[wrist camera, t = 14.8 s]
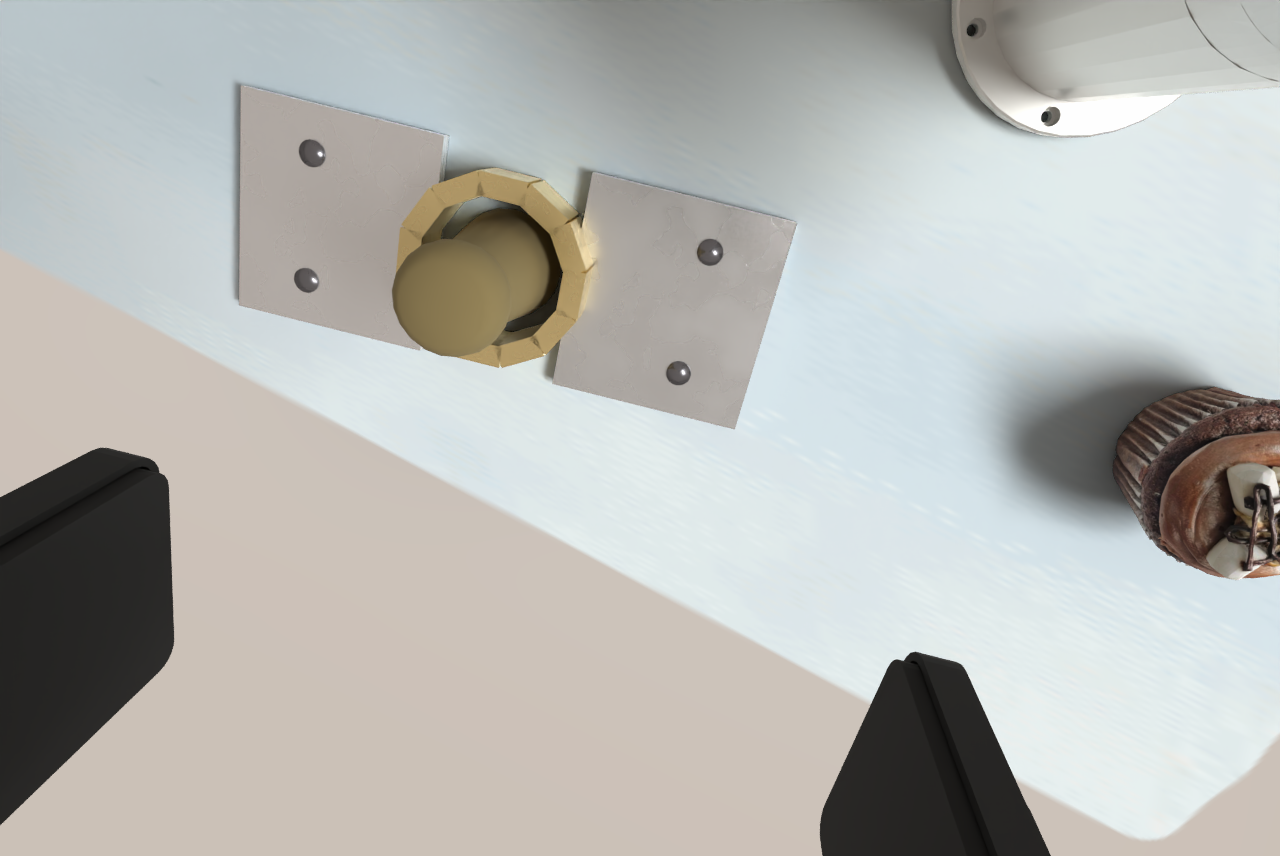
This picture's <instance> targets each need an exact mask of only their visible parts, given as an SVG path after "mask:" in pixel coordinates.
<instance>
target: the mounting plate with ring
mask: <svg viewBox="0 0 1280 856" xmlns="http://www.w3.org/2000/svg"><path fill="white" fill-rule="evenodd" d="M448 142H449V136H448V135H444V134H440V133H436V132H432V131H428V130H424V129H420V128H416V127H412V126H408V125H404V124H400V123H396V122H392V121H388V120H384V119H380V118H376V117H372V116H368V115H364V114H360V113H356V112H351V111H347V110H343V109H339V108H335V107H331V106H327V105H323V104H319V103H315V102H311V101H307V100H303V99H299V98H295V97H291V96H287V95H283V94H279V93H275V92H271V91H267V90H263V89H259V88H255V87H251V86H241V121H240V256H239V305H240V306H244V307H248V308H252V309H256V310H260V311H264V312H268V313H272V314H276V315H280V316H284V317H288V318H292V319H296V320H300V321H304V322H308V323H312V324H316V325H320V326H324V327H328V328H332V329H336V330H340V331H344V332H348V333H352V334H356V335H360V336H364V337H368V338H372V339H376V340H380V341H384V342H388V343H392V344H396V345H400V346H404V347H408V348H412V349H416V350H422V349H423V347H421V346H420V345H419V344H417V343H416V342H415V341H413V340H412V339H411V338H410V337H409V336H408V334H407V333H406V332H405V330H404V329H403V328H402V326H401V325H400V323H399V321H398V318H397V316H396V313H395V311H394V308H393V298H392V287H393V283H394V279H395V275H396V273H397V271H398V269H399V268H400V266H401V265H402V263H403V262H404V260H405V259H406V257H407V256H408V255H409V254H410V253H412V252H413V251H414V250H416V249H417V248H418V247H420V246H421V245H424V244H427V243H430V242H434V241H437V240H441V235H442V230H443V228H444V227H445V226H446V224H447V223H448V222H449V221H450V219H451V218H452V217H453V215H454V214H455V213H456V212H457V210H458V209H459V208H460V207H461V205H462V204H463V203H464V202H467V201H470V200H473V199H476V198H479V197H482V196H483V197H487V198H491V199H495V200H499V201H503V202H507V203H511V204H515V205H519V206H521V207H522V208H523V209H524V210H525V211H526V212H527V213H528V214H529V215H530V216H531V217H532V218H533V219H535V220H536V221H537V222H538V223H539V224H540V225H541V226H542V227H543V228H544V229H545V230H546V231H547V232H548V233H549V234H550V236H551V238H552V241H553V244H554V247H555V250H556V253H557V256H558V259H559V262H560V265H561V268H562V271H563V276H562V281H561V287H560V292H559V297H558V303H557V308H556V311H555V312H554V313H553V314H552V315H551V316H550V317H549V319H548V320H547V321H546V322H545V323H543V324H540V325H536V326H533V327H529V328H526V329H522V330H519V331H515V332H509V331H505V330H503V331H502V332H501V334H500V335H499V336H498V338H497V339H496V340H495V341H494V342H493V343H492V344H490V345H489V346H487V347H486V348H484V349H483V350H481V351H480V352H478V353H474V354H470V355H466V356H461V357H458V358H462V359H466V360H470V361H474V362H478V363H482V364H486V365H490V366H494V367H498V368H499V367H500V366H501V367H502V368H503V367H506V366H510V365H514V364H517V363H521V362H524V361H528V360H532V359H535V358H539V357H542V356H544V355H545V354H547V353H548V352H549V351H550V350H551V349H552V348H553V347H554V346H555V345H556V343H557V342H558V341H559V340H560V339H561V340H560V346H559V351H558V356H557V362H556V367H555V372H554V377H553V383H552V384H556V385H560V386H564V387H568V388H572V389H576V390H580V391H584V392H588V393H592V394H596V395H600V396H604V397H608V398H612V399H616V400H620V401H624V402H628V403H632V404H636V405H640V406H644V407H648V408H652V409H655V410H659V411H663V412H667V413H671V414H675V415H679V416H683V417H687V418H691V419H695V420H699V421H703V422H707V423H711V424H715V425H719V426H723V427H727V428H731V429H735V426H736V423H737V420H738V416H739V413H740V410H741V407H742V403H743V400H744V397H745V393H746V390H747V387H748V384H749V380H750V377H751V374H752V370H753V367H754V364H755V361H756V357H757V354H758V351H759V347H760V344H761V341H762V337H763V334H764V331H765V328H766V324H767V321H768V318H769V314H770V311H771V308H772V305H773V301H774V298H775V295H776V291H777V288H778V285H779V282H780V278H781V275H782V272H783V268H784V265H785V262H786V258H787V255H788V252H789V249H790V245H791V242H792V239H793V235H794V232H795V229H796V226H797V223H796V222H795V221H791V220H787V219H783V218H779V217H775V216H771V215H767V214H763V213H759V212H755V211H751V210H747V209H743V208H739V207H735V206H731V205H727V204H723V203H719V202H715V201H710V200H706V199H702V198H698V197H694V196H690V195H686V194H682V193H678V192H674V191H670V190H666V189H662V188H658V187H654V186H650V185H646V184H642V183H638V182H634V181H630V180H626V179H622V178H618V177H614V176H610V175H606V174H602V173H598V172H593V173H592V177H591V182H590V188H589V193H588V198H587V203H586V209H585V214H584V219H583V221H582V218H581V216H580V217H577V218H576V216H577V215H578V214H579V213H578V212H577V211H576V210H575V209H574V208H573V207H572V206H571V205H570V204H569V203H568V202H567V201H566V200H564V199H563V198H562V197H561V196H560V195H559V194H558V193H557V192H556V191H555V190H554V189H553V188H552V187H551V186H550V185H549V184H548V183H547V182H546V181H545V180H544V181H541V178H537V177H533V176H529V175H525V174H521V173H517V172H513V171H508V170H504V169H500V168H488V169H482V170H476V171H473V172H470V173H467V174H464V175H461V176H458V177H456V178H453V179H450V180H447V181H444V177H445V168H446V160H447V151H448Z"/></svg>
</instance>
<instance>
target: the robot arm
mask: <svg viewBox="0 0 1280 856" xmlns="http://www.w3.org/2000/svg"><path fill="white" fill-rule="evenodd" d="M969 25H973V26H974V27H975V29H976V30H975V34H974V35H973V36H969V35H967V32H966V31H967V28H968V26H969ZM952 33H953V39H954V44H955V49H956V55H957V58H958V61H959V63H960V65H961V68H962V70H963V73H964V75H965V78H966V80H967V82H968V83H969V85H970V86H971V87H972V89H973V90H974V92H975V93H976V95H977V96H978V98H979V99H980V101H982V102H983V103H984V104H985V105H986V106H987V107H988V108H989V109H990V110H991V111H992V112H994V113H995V114H996V115H997V116H998V117H1000V118H1001V119H1003V120H1005V121H1007V122H1008V123H1010V124H1012V125H1014V126H1015V127H1017V128H1019V129H1022V130H1025V131H1029V132H1032V133H1035V134H1039V135H1042V136H1053V137H1063V138H1072V137H1091V136H1095V135H1100V134H1105V133H1110V132H1115V131H1118V130H1120V129H1123V128H1125V127H1128V126H1131V125H1133V124H1136V123H1138V122H1141V121H1143V120H1145V119H1146V118H1148V117H1150V116H1152V115H1153V114H1155V113H1157V112H1158V111H1160V110H1162V109H1164V108H1165V107H1167V106H1169V105H1170V104H1171V103H1173V102H1174V101H1175V100H1176V99H1178V98H1179V97H1180V96H1182V95H1185V94H1198V93H1212V92H1225V91H1238V90H1251V89H1264V88H1277V87H1280V0H952ZM1044 111H1046V112H1047V113H1048V119H1047V120H1046V121H1045V122H1042V121H1041V115H1042V113H1043V112H1044ZM173 646H174V623H173V595H172V567H171V538H170V509H169V485H168V480H167V479H166V477H165V476H164V475H162V474H160V473H159V468H158V466H157V465H156V463H155V462H154V461H152V460H151V459H149V458H145V457H141V456H137V455H133V454H129V453H125V452H121V451H117V450H113V449H109V448H98V449H95V450H92V451H90V452H88V453H86V454H84V455H82V456H80V457H78V458H76V459H74V460H72V461H70V462H69V463H67V464H65V465H63V466H61V467H59V468H57V469H55V470H53V471H51V472H49V473H47V474H45V475H43V476H41V477H39V478H37V479H35V480H33V481H31V482H29V483H27V484H26V485H24V486H21V487H20V488H18V489H16V490H14V491H12V492H10V493H8V494H6V495H4V496H2V497H0V825H1V824H2V823H3V822H4V821H5V820H6V819H7V818H8V817H9V816H10V815H11V814H12V813H13V812H14V811H15V810H16V809H17V808H19V807H20V805H22V804H23V803H24V802H25V801H26V800H27V799H28V798H29V797H30V796H31V795H32V794H33V793H34V792H35V791H36V790H37V789H38V788H39V787H40V786H41V785H42V784H43V783H44V782H45V781H46V780H47V779H49V778H50V776H52V774H54V773H55V772H56V771H57V770H58V769H59V768H60V767H61V766H62V765H63V764H64V763H65V762H66V761H67V760H68V759H69V758H70V757H71V756H72V755H73V754H74V753H75V752H76V751H78V750H79V749H80V748H81V747H82V746H83V745H84V744H85V743H86V742H87V741H88V740H89V739H90V738H91V737H92V736H93V735H94V734H95V733H96V732H97V731H98V730H99V729H100V728H101V727H102V726H103V725H104V724H105V723H106V722H107V721H109V720H110V719H111V718H112V717H113V716H114V715H115V714H116V713H117V712H118V711H119V710H120V709H121V708H122V707H123V706H124V705H125V704H126V703H127V702H128V701H129V700H130V699H131V698H132V697H133V696H135V695H136V693H138V692H139V691H140V690H141V689H142V688H143V687H144V686H145V685H146V684H147V683H148V682H149V681H150V680H151V679H152V678H153V677H154V676H155V675H156V674H157V673H158V672H159V671H160V670H161V669H162V668H163V667H164V665H165V664H166V662H167V661H168V659H169V657H170V655H171V652H172V649H173ZM820 841H821V848H822V855H823V856H1051V855H1050V853H1049V851H1048V849H1047V847H1046V844H1045V842H1044V840H1043V838H1042V835H1041V834H1040V831H1039V829H1038V827H1037V825H1036V822H1035V820H1034V818H1033V816H1032V813H1031V811H1030V809H1029V808H1028V806H1027V805H1026V802H1025V800H1024V798H1023V796H1022V794H1021V791H1020V789H1019V787H1018V785H1017V783H1016V780H1015V778H1014V776H1013V774H1012V772H1011V769H1010V767H1009V765H1008V763H1007V760H1006V758H1005V756H1004V754H1003V752H1002V749H1001V747H1000V745H999V743H998V741H997V738H996V736H995V734H994V732H993V730H992V727H991V725H990V723H989V721H988V719H987V716H986V714H985V712H984V710H983V708H982V705H981V703H980V701H979V699H978V696H977V694H976V692H975V690H974V688H973V685H972V683H971V681H970V679H969V677H968V674H967V672H966V670H965V669H964V667H963V666H962V665H961V664H959V663H957V662H954V661H950V660H946V659H942V658H938V657H934V656H930V655H926V654H922V653H918V652H912V653H910V654H909V655H908V656H907V657H906V658H905V660H904V661H901V660H894V661H892V662H891V663H890V665H889V667H888V669H887V671H886V673H885V675H884V677H883V680H882V682H881V684H880V686H879V688H878V690H877V693H876V695H875V697H874V699H873V701H872V703H871V706H870V708H869V710H868V712H867V714H866V717H865V719H864V721H863V723H862V725H861V727H860V730H859V732H858V734H857V736H856V738H855V740H854V743H853V745H852V747H851V749H850V751H849V754H848V755H847V758H846V760H845V762H844V764H843V766H842V769H841V771H840V773H839V775H838V777H837V779H836V781H835V784H834V786H833V788H832V790H831V792H830V794H829V797H828V799H827V801H826V803H825V806H824V808H823V812H822V816H821V823H820Z"/></svg>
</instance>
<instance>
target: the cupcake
mask: <svg viewBox="0 0 1280 856" xmlns="http://www.w3.org/2000/svg"><path fill="white" fill-rule="evenodd" d="M1116 453H1117V455H1116V457H1115V459H1114V462H1113V474H1114V478H1115V480H1116V482H1117V483H1118V485H1119V487H1120V489H1121V491H1122V493H1123V494H1124V496H1125V498H1126V499H1127V501H1128V503H1129V504H1130V506H1131V508H1132V509H1133V511H1134V513H1135V514H1136V516H1137V518H1138V520H1139V522H1140V524H1141V526H1142V528H1143V530H1144V531H1145V533H1146V534H1147V536H1148V538H1149V539H1150V540H1151V539H1152V540H1153V542H1154V543H1155V545H1156V546H1157V547H1158V548H1159V549H1161V550H1162V551H1164V552H1165V553H1166V554H1167V556H1172V557H1174V558H1175V559H1176V561H1177V562H1183V563H1185V564H1186V566H1192V567H1194V568H1196V569H1199V570H1202V571H1203V572H1205V573H1207V574H1210V575H1214V576H1217V577H1225V578H1228V579H1234V580H1240V579H1241V578H1259V577H1267V576H1274V575H1280V400H1269V399H1263V398H1254V397H1250V396H1246V395H1242V394H1239V393H1236V392H1233V391H1227V390H1223V389H1220V388H1217V387H1212V388H1210V389H1207V390H1202V389H1198V390H1190V391H1186V392H1182V393H1176V394H1173V395H1170V396H1168V397H1165V398H1163V399H1162V400H1160V401H1157V402H1154V403H1152V404H1151V405H1150V406H1148V407H1146V408H1144V409H1143V410H1142V411H1141V412H1140V413H1139V414H1138V415H1136V416H1135V418H1134V420H1133V421H1131V422H1130V423H1129V424H1128V426H1127V428H1126V429H1125V431H1124V432H1123V433H1122V434H1121V436H1120V437H1119V438H1118V441H1117V446H1116Z"/></svg>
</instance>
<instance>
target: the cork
mask: <svg viewBox="0 0 1280 856" xmlns="http://www.w3.org/2000/svg"><path fill="white" fill-rule="evenodd" d="M559 278H560V262H559V259H558V256H557V253H556V250H555V247H554V244H553V241H552V238H551V236H550V234H549V233H548V232H547V231H546V230H545V229H544V228H543V227H542V226H541V225H540V224H539V223H538V222H537V221H536V220H535V219H533V218H532V217H531V216H530V215H528V214H526V213H523V212H521V211H518V210H515V209H500V208H498V209H495V210H491V211H488V212H484V213H482V214H481V215H479V216H478V217H476V218H475V219H474V220H472V221H471V222H470V223H469V224H467V225H466V226H465V227H464V228H463V229H462V230H461V231H460V232H459V233H458V234H457V235H456V236H455V237H454V238H453V239H441V240H437V241H434V242H430V243H427V244H424V245H421V246H420V247H418V248H417V249H416V250H414V251H413V252H412V253H410V254H409V255H408V256H407V257H406V259H405V260H404V262H403V263H402V265H401V266H400V268H399V269H398V271H397V273H396V275H395V279H394V283H393V287H392V298H393V308H394V311H395V313H396V316H397V318H398V321H399V323H400V325H401V326H402V328H403V329H404V330H405V332H406V333H407V334H408V336H409V337H410V338H411V339H412V340H413V341H415V342H416V343H417V344H419V345H420V346H421V347H423V348H424V349H425V350H428V351H430V352H433V353H436V354H438V355H441V356H452V357H461V356H466V355H470V354H474V353H478V352H480V351H481V350H483V349H484V348H486V347H487V346H489V345H490V344H492V343H493V342H494V341H495V340H496V339H497V338H498V336H499V335H500V334H501V332H502V331H503V330H504V328H505V327H506V325H507V322H509V321H511V320H514V319H517V318H519V317H522V316H524V315H527V314H530V313H532V312H534V311H535V310H537V309H538V308H540V307H541V306H543V305H544V304H546V303H547V301H548V300H549V299H550V297H551V296H552V295H553V293H554V292H555V290H556V287H557V284H558V281H559Z"/></svg>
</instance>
